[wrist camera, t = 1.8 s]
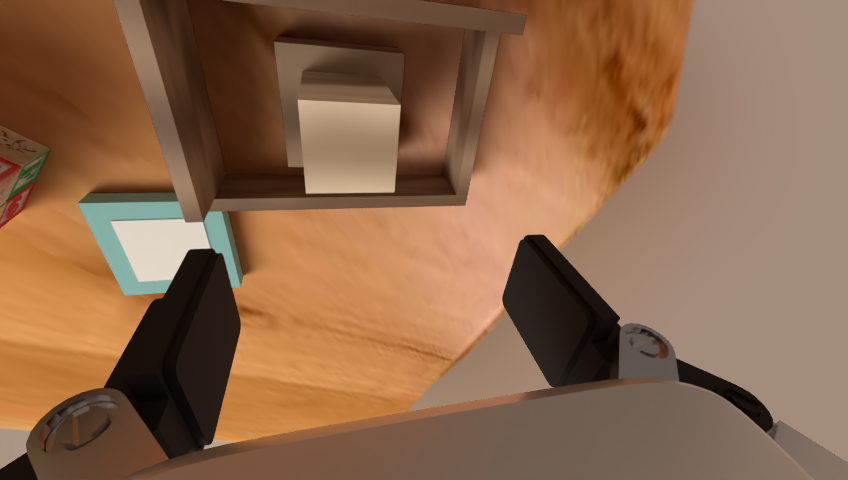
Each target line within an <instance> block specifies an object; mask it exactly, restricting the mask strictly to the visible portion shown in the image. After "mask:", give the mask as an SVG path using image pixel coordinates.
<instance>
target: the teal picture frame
mask: <svg viewBox="0 0 848 480" xmlns="http://www.w3.org/2000/svg"><path fill="white" fill-rule="evenodd" d="M77 204H78V206H79V208H80V210H81V211H82V213H83V215H84V217H85V219H86V221H87V223H88V225H89V227H90V229H91V231H92V233H93V235H94V237H95V239H96V241H97V243H98V245H99V247H100V248H101V250H102V252H103V254H104V256H105V258H106V260H107V262H108V264H109V266H110V268H111V270H112V272H113V274H114V276H115V278H116V280H117V282H118V284H119V285H120V287H121V289H122V291H123V293H124V295H125V296H126V295H139V294H153V293H166V291H167V289H168V287H169V286H170V284H171V282H172V280H173V278H174V276H175V274H176V272H177V270H178V269H179V267H180V265H181V263H182V261H183V259H184V257H185V255H186V253H187V252H188V250H190V249H207V248H213V249H214V250H215V251H216V253H222V254H223V256H224V260H225V264H226V267H227V271H228V275H229V279H230V283H231V287H241V283H242V279H243V273H242V269H241V265H240V260H239V256H238V252H237V248H236V244H235V240H234V235H233V231H232V227H231V223H230V219H229V214H228V211H220V212H208V214H207V216H206V218H205V220H204V222H190V223H185V220H184V217H183V214H182V211H181V207H180V204H179V201H178V198H177V195H176V192H168V193H88V194H87V195H86V196H85V197H84V198H83V199H82V200H80V201H79V202H78V203H77Z"/></svg>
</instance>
